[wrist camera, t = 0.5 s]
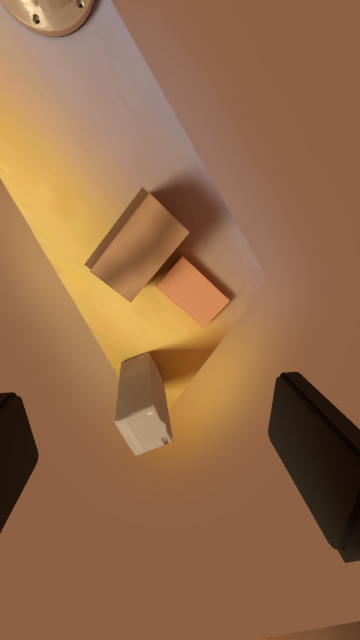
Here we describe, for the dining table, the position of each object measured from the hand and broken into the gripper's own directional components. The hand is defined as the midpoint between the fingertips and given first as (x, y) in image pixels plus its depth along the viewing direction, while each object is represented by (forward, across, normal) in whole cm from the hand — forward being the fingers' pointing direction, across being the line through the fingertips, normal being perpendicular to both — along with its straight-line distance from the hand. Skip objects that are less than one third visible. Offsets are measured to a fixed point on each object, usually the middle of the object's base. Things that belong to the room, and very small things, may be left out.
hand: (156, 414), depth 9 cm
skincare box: (+35, +3, +20) cm, 40 cm away
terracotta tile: (+35, -7, +3) cm, 36 cm away
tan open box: (+34, +3, -5) cm, 35 cm away
